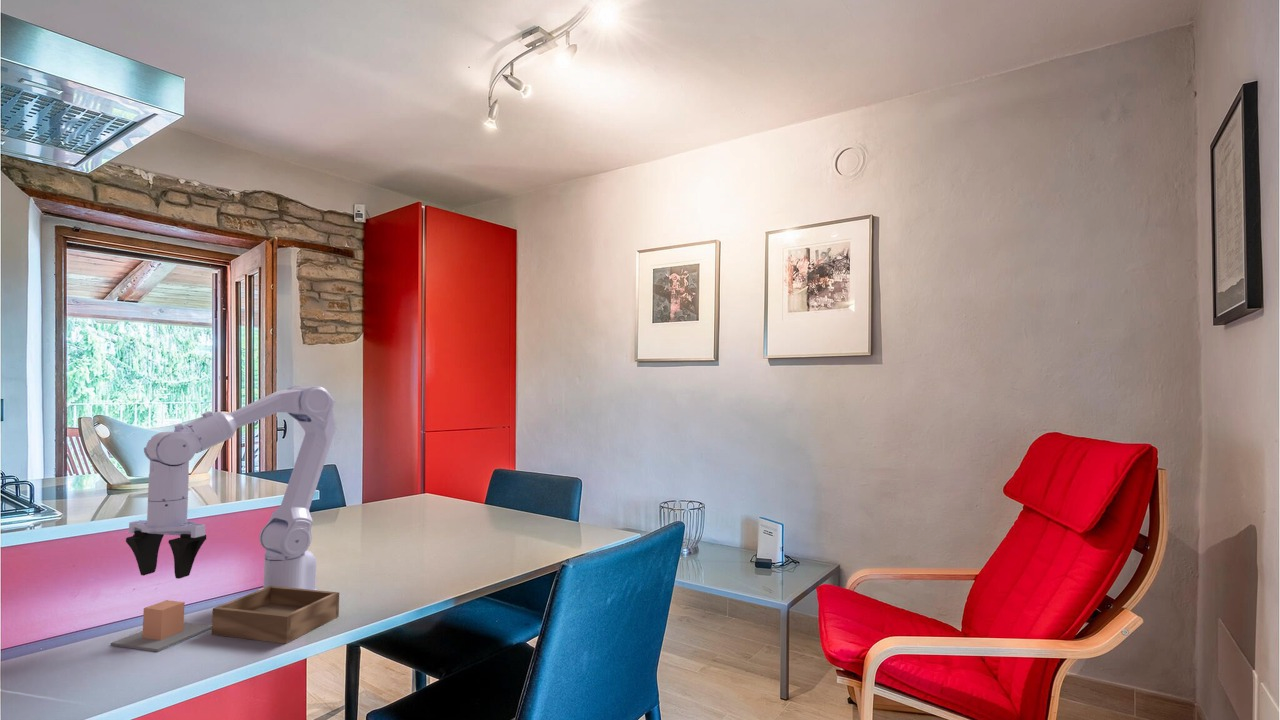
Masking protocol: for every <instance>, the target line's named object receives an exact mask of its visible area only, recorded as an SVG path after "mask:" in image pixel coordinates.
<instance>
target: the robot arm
mask: <svg viewBox="0 0 1280 720" xmlns="http://www.w3.org/2000/svg"><path fill="white" fill-rule="evenodd" d="M335 402H336V401H335V400H334V398H333V396H332V395H331V394H330V392H329V390H327V389H326V388H324V387H322V386H318V385H314V386H300V385H293V386H290V387H288V388H285V389H280V390H277V391H275V392H273V393H270V394H268V395H266V396H264V397H262V398H259V399H256V400H255V401H253V402H251V403H249V404H247V405H244V406H241V407H240V408H238V409H236V410H234V411H232V412H228V413H224V412H221V411H215V412H213V411H209V410H208V411H206V412H204V413H202V414H201V416H202V417H200V418H198V419H196V420H193V421H191V422H188V423H186V424H181V423H179V424H177V425H174V431H162V432H158V433H156V434H154V435H153V436H151V438H150V439H149V440H147V443H146V445H145V446H146V447H144V448H143V453H144V456H145V457H146V458H147V460H149V474H148V487H147V490H148V491H147V509H146V510H147V512H146V513H147V515H146V520H145V519H141V520H135V521H131V522H128V533H129V534H132V536H128V537H126V538H125V542H126V544H127V545H128V546H129V548H130V549H131V550H132V553H133V554H134V557H135V560H136V562H137V567H138V570H139V573H140V574H139V575H140V576H148V575H150V574H154V573H155V572H156V569H157V565H158V555H159V551H160V546H161V543H162V541H163V538H164V535H166V536H168V535H169V536H180V537H176V538H173V539H172V538H171V539H169V540H168V542H167V543H168V545H169V546H170V549H171V551H172V556H173V564H174V565H173V566H174V567H173V568H174V577H175V579H177V580H178V579H183V578H185V577H188V576H190V574H191V572H192V568H193V565H194V562H195V559H196V557H197V554H198V553H199V551H200V549H201V547H202V545H203V544H204V543H205V542H206V540H207V535H206V524H205V523H204V524H202V523H197V522H194V521H190V520H188V506H189V505H188V503H189V481H190V478H189V477H190V471H189V470H190V469H189V468H190V466H189V465H190V464H189V463H190V461H192V459H194V456H195V454H199V453H201V452H204V451H206V450H208V449H209V448H212V447H215V446H216V445H219V444H221V443H223V442H225V441H229V440H231V439H232V438H233V437H234V435H235V433H236V431H237V430H238V429H239V428H242V427H244V426H246V425H249V424H253V423H254V422H257V421H259V420H261V419H265V418H267V417H269V416H272V415H275V414H277V413H286V414H287V415H289V416H290V417H292V418H293V419H294V420H296V421H297V422H298V423H299V425H300V426H301V428H302V429H303V431H304V436H303V440H302V443H301V445H300V449H299V451H298V453H297V457H296V460H295V463H294V466H293V469H292V472H291V474H290V478H289V481H288V483H287V486H286V489H285V492H284V495H283V497H282V501H281V504H280V506H278V507H277V508H276V509H275V510H274V511H273V512H272V513H271V515H270V518H269V520H268V521H267V523H266V524H265V525H264V526H263V528H262V529H261V531H260V534H259V537H258V539H259V540H258V541H259V543H260V545H261V547H263V549H265V550H264V551H265V553H264V561H263V562H264V564H263V588H262V589H264V588H266V587H269V586H278V587H288V588H298V589H309V590H319V589H318V588H316V583H317V582H316V579H317V577H316V575H317V560H316V556H315V555H314V554H313V552H312V551H311V550H308V549H309V547H310V546H311V544H312V525H313V523H314V520H313V518H312V515H311V513H310V509H311V506H312V502H313V499H314V496H315V493H316V490H317V487H318V484H319V481H320V478H321V474H322V471H323V468H324V466H325V462H326V460H327V456H328V455H329V454H328V453H329V450H330V447H331V444H332V443H333V438H334V435H335V431H336V423H335V416H334V407H335V404H336V403H335Z"/></svg>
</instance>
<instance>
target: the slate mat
mask: <svg viewBox="0 0 1280 720" xmlns="http://www.w3.org/2000/svg"><path fill="white" fill-rule="evenodd" d="M210 630H212V625H210V624H200V623H192V622H191V623H190V622H184V629H183V631H182V632H180V633H177V634H175V635H172V636H170V637H167V638H165V639H162V640H156V639H149V638H142V635H143V630H140V631H137V632H135V633H133V634H130V635H127V636H125V637H123V638H120V639H117V640H114V641H112V642H110V646H112V647H113V646H114V647H121V648H129V649H136V650H142V651H151V652H156V653H157V652H160V651H163V650H165V649H167V648H170V647H173V646H175V645H177V644H179V643H181V642H184V641H186V640H188V639H191V638H194V637H196V636H198V635H201V634H203V633H205V632H208V631H210Z"/></svg>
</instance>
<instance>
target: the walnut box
mask: <svg viewBox="0 0 1280 720" xmlns="http://www.w3.org/2000/svg"><path fill="white" fill-rule="evenodd" d="M211 611H212V615H211V617H212V618H211V626H212V629H211V635H213V636H221V637H229V638H230V637H231V638H238V639H244V640H245V639H246V640H255V641H262V642H270V643H278V644H279V643H280V644H289V643H290V642H292V641H294V640H296V639H298V638H300V637H302V636H304V635H305V634H308V633H310V632H311V631H315V629H317V628H319V627H321V626H323V625H325V624H327V623H329V622H331V621H333V620H334V619H336V618H337V619H338V617H339V615H340V612H339V611H340V592H336V591H327V590H319V589H318V590H309V589H298V588H288V587H278V586H269V587H266V588H264V589H263V588H262V589H258V590H256V591H254V592H252V593H249V594H246V595H244V596H241V597H239V598H236V599H233V600H230V601H228V602H225V603H224V604H220V605H218V606H216V607H212V610H211Z"/></svg>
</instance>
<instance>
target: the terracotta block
mask: <svg viewBox="0 0 1280 720" xmlns="http://www.w3.org/2000/svg"><path fill="white" fill-rule="evenodd" d="M142 620H143V621H142V631H143V635H142V638H149V639H156V640H162V639H165V638H167V637H170V636H172V635H175V634H177V633H180V632H182V631H183V629H184V623H185V601H177V600H169V599H166V600H163V601H159V602H157V603H155V604H152V605H148V606H146V607H144V608H143V618H142Z"/></svg>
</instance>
